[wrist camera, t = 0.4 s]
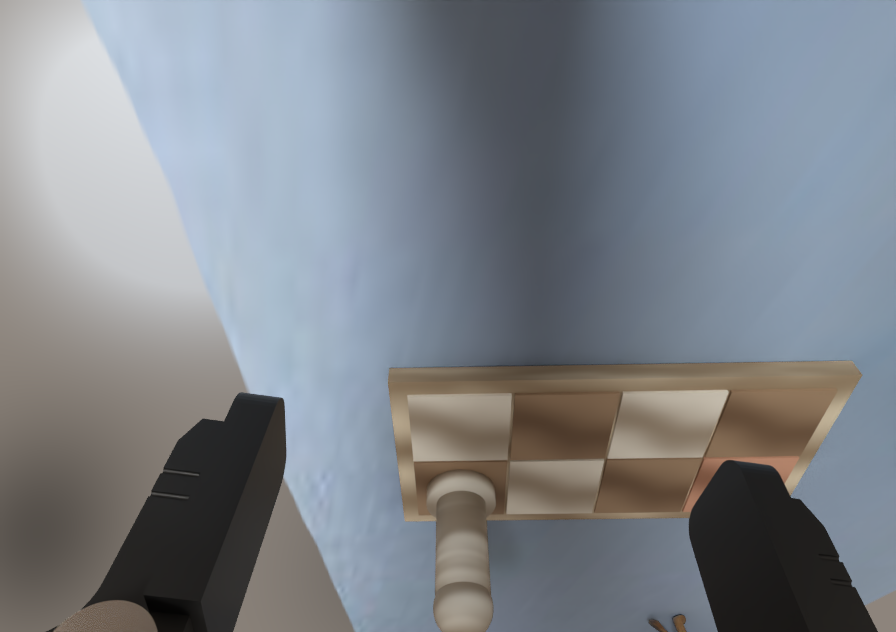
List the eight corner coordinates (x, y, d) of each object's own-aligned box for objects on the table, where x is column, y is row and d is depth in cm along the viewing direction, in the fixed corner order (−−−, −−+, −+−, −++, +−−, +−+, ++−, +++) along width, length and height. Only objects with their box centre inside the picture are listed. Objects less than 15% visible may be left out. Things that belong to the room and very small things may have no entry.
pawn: (425, 469, 40) (420, 621, 33) (495, 468, 40) (507, 620, 33) (428, 509, 43) (424, 656, 36) (493, 508, 43) (504, 655, 36)
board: (389, 368, 36) (387, 384, 35) (851, 360, 36) (864, 377, 35) (405, 507, 46) (404, 523, 45) (771, 502, 45) (779, 519, 44)
